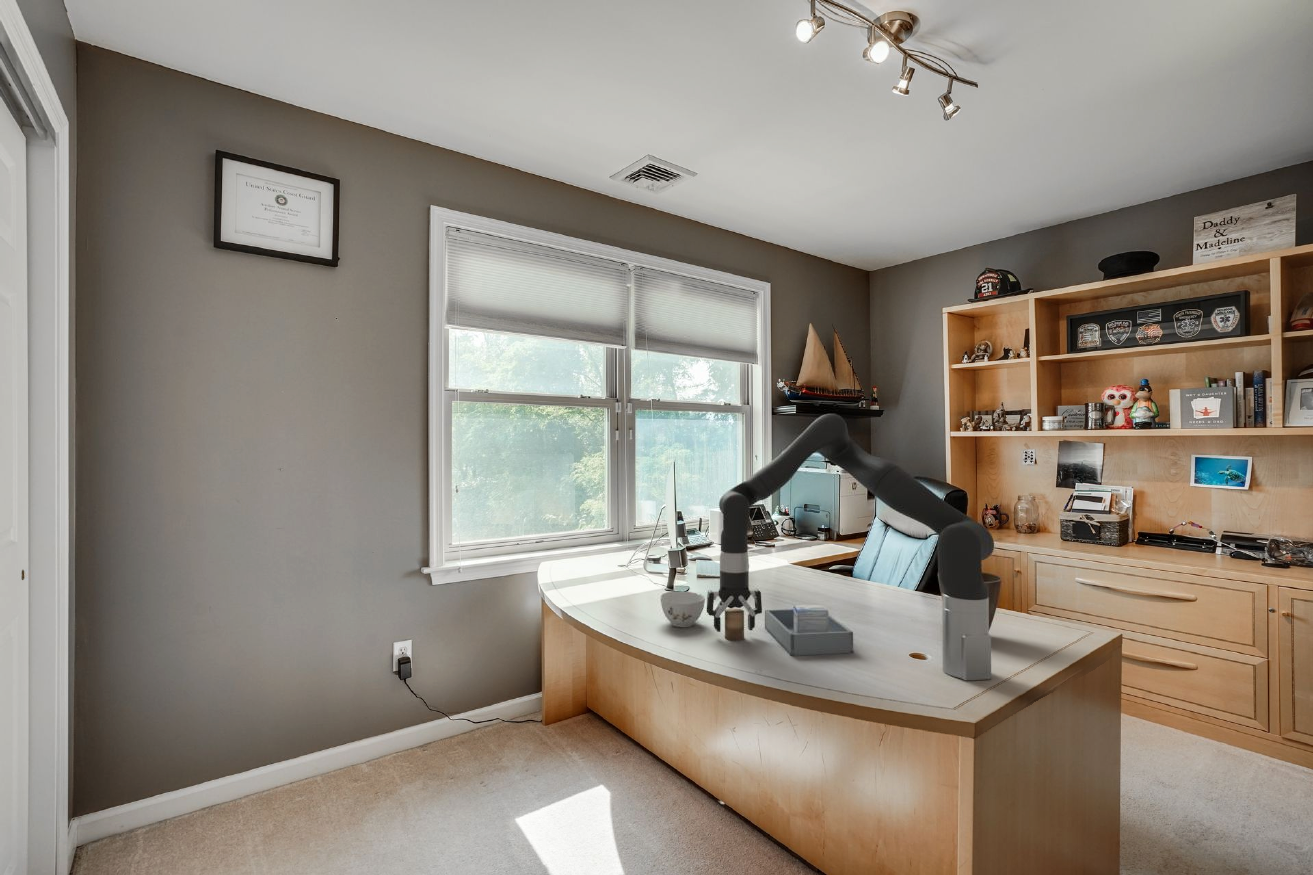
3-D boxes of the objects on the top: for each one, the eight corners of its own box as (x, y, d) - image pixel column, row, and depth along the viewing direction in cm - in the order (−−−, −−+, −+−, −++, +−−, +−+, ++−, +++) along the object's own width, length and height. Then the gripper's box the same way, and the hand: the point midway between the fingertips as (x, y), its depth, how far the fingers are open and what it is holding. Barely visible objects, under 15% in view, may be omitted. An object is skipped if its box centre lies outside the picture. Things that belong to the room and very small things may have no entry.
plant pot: (928, 636, 162) (928, 575, 162) (949, 624, 173) (949, 567, 173) (990, 650, 152) (990, 585, 152) (1009, 636, 162) (1009, 575, 162)
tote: (853, 652, 151) (853, 632, 151) (790, 655, 149) (790, 634, 149) (819, 626, 172) (819, 608, 172) (764, 628, 170) (764, 610, 170)
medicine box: (824, 638, 159) (824, 605, 159) (828, 644, 155) (828, 609, 155) (793, 638, 159) (793, 605, 160) (797, 644, 155) (796, 609, 155)
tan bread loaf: (746, 640, 160) (746, 613, 160) (727, 641, 160) (727, 614, 160) (741, 634, 165) (741, 608, 165) (722, 635, 165) (722, 608, 165)
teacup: (694, 634, 166) (694, 604, 166) (652, 628, 171) (652, 599, 171) (714, 619, 179) (714, 591, 179) (675, 613, 185) (674, 587, 184)
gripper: (756, 564, 167) (756, 625, 167) (704, 566, 165) (704, 627, 165) (764, 570, 160) (764, 633, 160) (710, 572, 158) (710, 636, 158)
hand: (734, 630), depth 163 cm, fingers open, 8 cm apart
